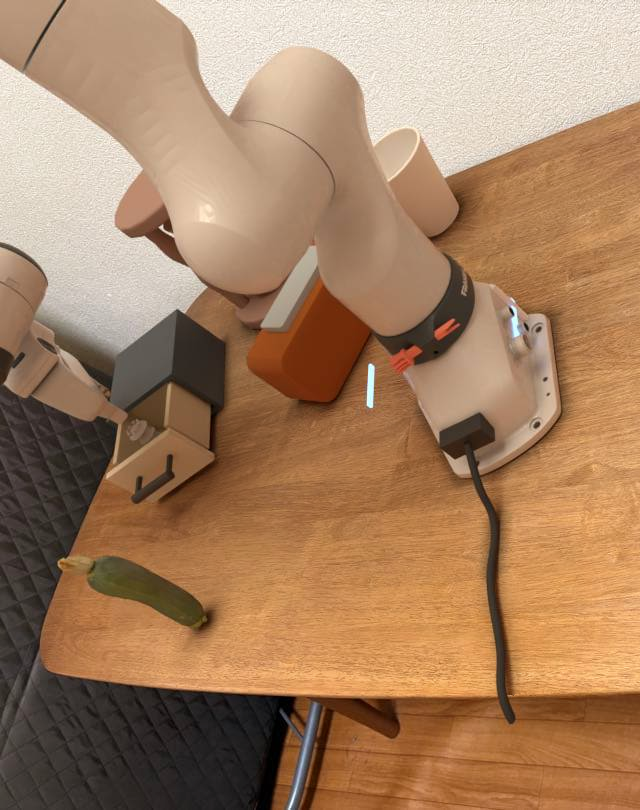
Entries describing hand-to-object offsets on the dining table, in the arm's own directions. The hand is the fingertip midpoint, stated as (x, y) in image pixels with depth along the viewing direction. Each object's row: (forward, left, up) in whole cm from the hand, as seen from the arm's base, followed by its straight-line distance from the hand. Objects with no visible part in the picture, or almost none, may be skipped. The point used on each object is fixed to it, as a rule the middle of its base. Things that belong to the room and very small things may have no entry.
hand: (115, 406), depth 116 cm
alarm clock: (+1, -31, -14) cm, 34 cm away
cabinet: (+13, +1, -14) cm, 19 cm away
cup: (+12, -49, -14) cm, 52 cm away
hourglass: (+24, -19, -14) cm, 34 cm away
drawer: (-1, +1, -13) cm, 13 cm away
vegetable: (-31, -4, -14) cm, 34 cm away
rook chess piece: (-1, +1, -12) cm, 12 cm away
